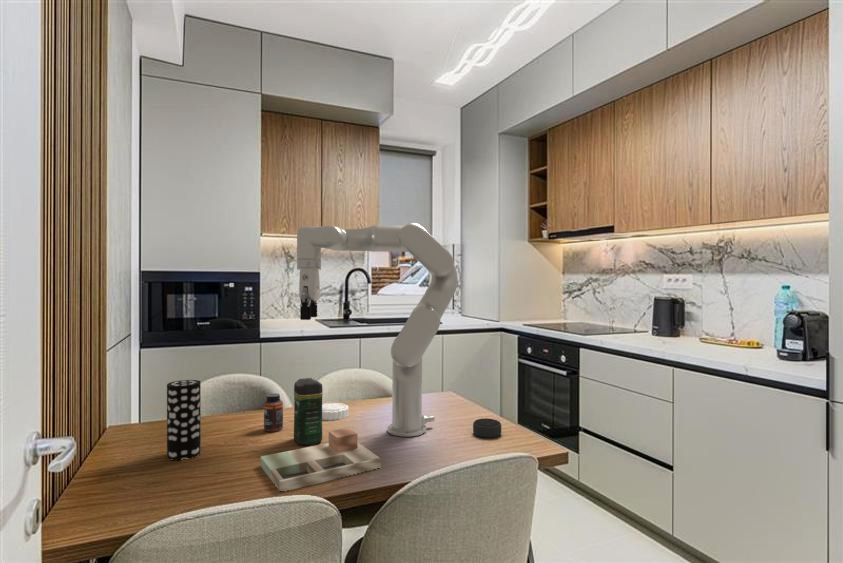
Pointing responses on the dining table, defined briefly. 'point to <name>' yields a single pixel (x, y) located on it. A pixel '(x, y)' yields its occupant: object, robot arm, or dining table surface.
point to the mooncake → (334, 411)
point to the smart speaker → (487, 428)
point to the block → (343, 440)
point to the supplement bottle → (273, 413)
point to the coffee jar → (307, 411)
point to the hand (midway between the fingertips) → (309, 318)
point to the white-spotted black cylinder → (183, 419)
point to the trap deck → (316, 465)
